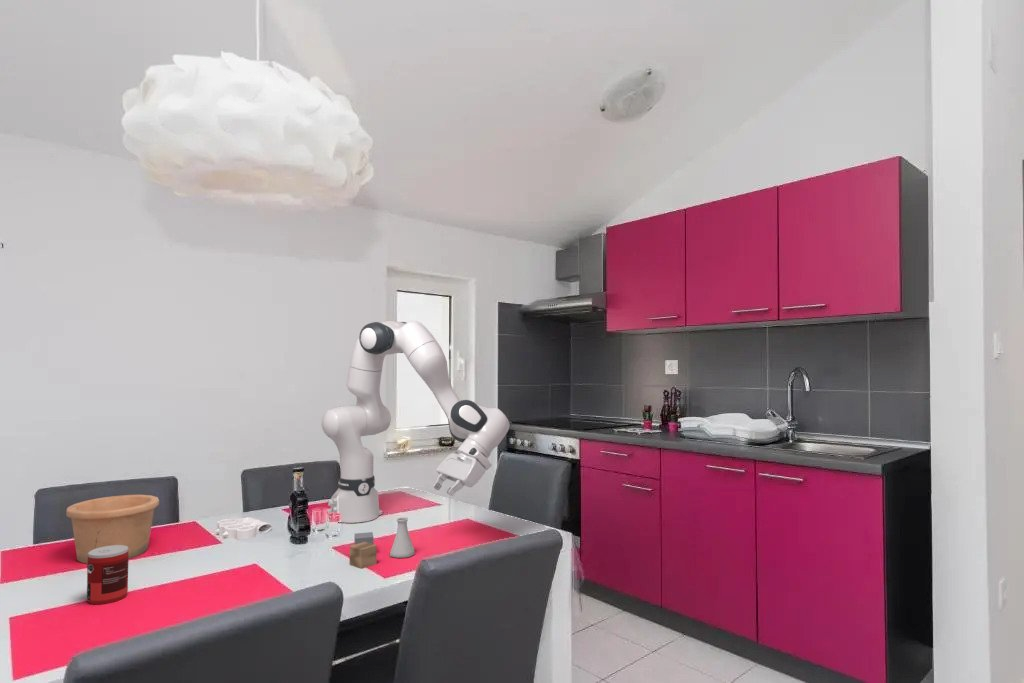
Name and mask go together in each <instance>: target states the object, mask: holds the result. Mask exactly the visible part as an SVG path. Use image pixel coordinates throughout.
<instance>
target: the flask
mask: <svg viewBox="0 0 1024 683" xmlns="http://www.w3.org/2000/svg"><path fill="white" fill-rule="evenodd" d="M408 520H409V518H408V517H403V516H402V517H398V518H396V523H397V529H396V534H395V536H394V541H393V543H392V546H391V549H390V553H389V557H392V558H396V559H398V558H399V559H400V558H401V559H402V558H410V557H412V556H414V555H415V554H416V549H415V547H414V545H413V542H412V540H411V536H410V534H409V528H408Z"/></svg>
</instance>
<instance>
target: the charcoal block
mask: <svg viewBox="0 0 1024 683" xmlns="http://www.w3.org/2000/svg"><path fill="white" fill-rule="evenodd" d="M374 538H375V537H374V534H373V531H371V532H358V533H357V532H356V533H354V544H353V545H356V544H359V543H363V542H367V543H371V544H374ZM374 545H375V544H374Z"/></svg>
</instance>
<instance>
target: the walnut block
mask: <svg viewBox="0 0 1024 683" xmlns="http://www.w3.org/2000/svg"><path fill="white" fill-rule="evenodd" d="M377 548H378V547H377V544H371V543H367V542H363V543H359V544H356V545H354V544H352V545H350V546H349V566H352V567H355V568H358V569H361V570H363V569H365V568H367V567H371V566H374V565H377V564H378V563H377V560H378V559H377V557H378V556H377V555H378V554H377V552H378V550H377Z"/></svg>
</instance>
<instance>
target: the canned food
mask: <svg viewBox="0 0 1024 683" xmlns="http://www.w3.org/2000/svg"><path fill="white" fill-rule="evenodd" d="M128 558H129V550H128V547H127V546H124V545H112V546H105V547H100V548H96V549H94V550H91V551H90V552H88V560H87V563H86V564H87V568H86V569H87V571H86V572H87V573H86V574H87V575H86V579H87V580H86V599H87V603H89V604H91V605H106V604H111V603H115V602H118V601H120V600H122V599H124V598H125V597H126V596H127V594H128V591H129V559H128Z"/></svg>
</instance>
